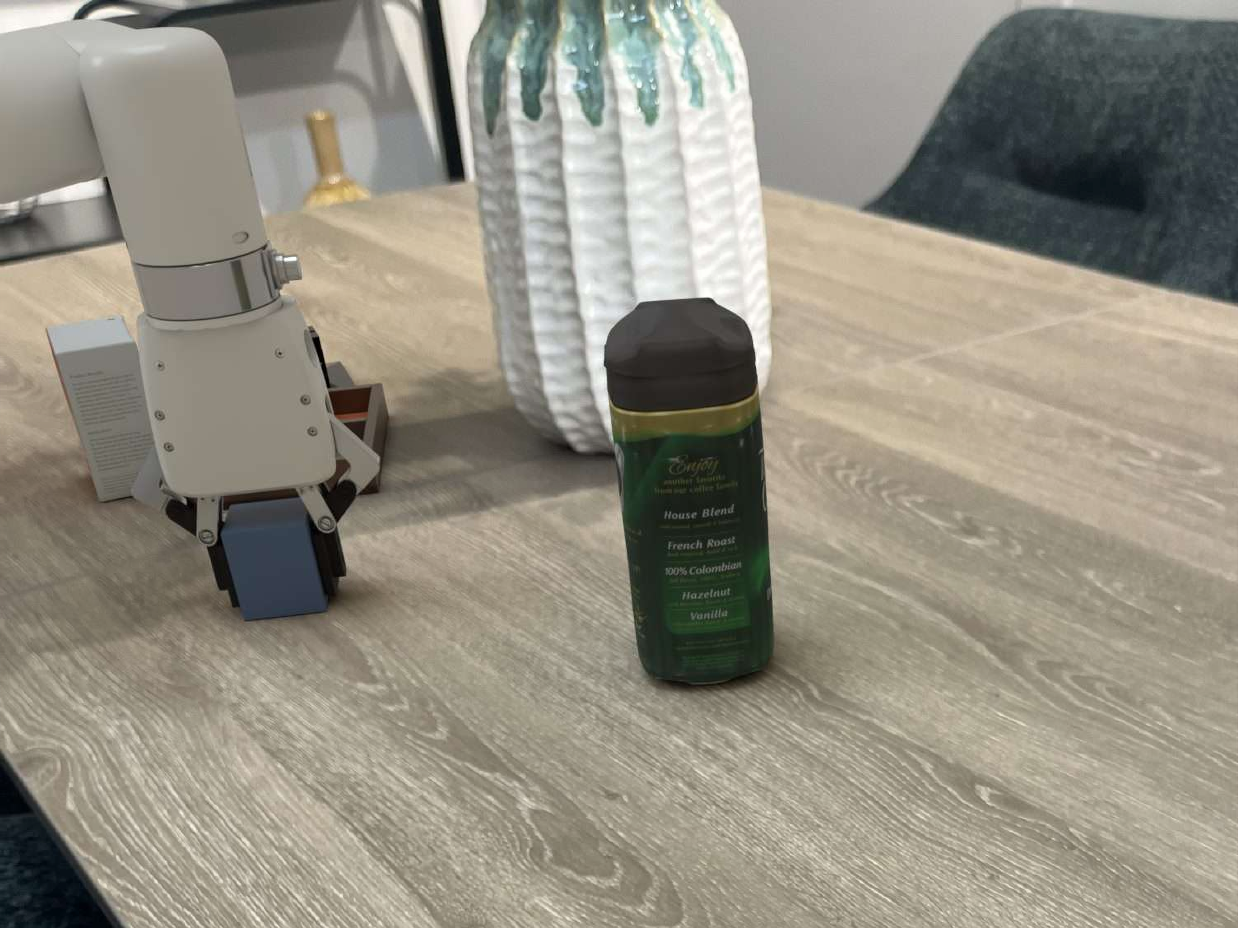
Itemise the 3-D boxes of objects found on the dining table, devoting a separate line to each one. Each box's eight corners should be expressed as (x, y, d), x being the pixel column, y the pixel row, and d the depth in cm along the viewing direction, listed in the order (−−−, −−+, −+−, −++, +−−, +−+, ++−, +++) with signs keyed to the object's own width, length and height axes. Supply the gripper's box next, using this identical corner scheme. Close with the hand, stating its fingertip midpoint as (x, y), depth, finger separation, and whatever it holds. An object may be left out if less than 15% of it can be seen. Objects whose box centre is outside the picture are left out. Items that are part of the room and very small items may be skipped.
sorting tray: (185, 513, 121) (175, 477, 120) (215, 434, 135) (206, 400, 134) (378, 492, 122) (371, 455, 121) (388, 416, 136) (382, 382, 135)
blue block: (244, 621, 105) (220, 534, 102) (252, 589, 109) (230, 504, 106) (326, 611, 106) (305, 524, 102) (331, 580, 110) (311, 495, 106)
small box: (88, 471, 130) (43, 325, 123) (163, 457, 131) (122, 312, 125) (99, 503, 124) (51, 352, 118) (177, 488, 126) (135, 338, 119)
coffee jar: (783, 683, 94) (759, 329, 83) (640, 696, 94) (595, 343, 82) (771, 612, 102) (747, 279, 90) (638, 624, 101) (597, 292, 90)
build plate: (366, 404, 139) (354, 345, 136) (276, 420, 137) (261, 361, 134) (340, 364, 148) (328, 308, 145) (255, 378, 147) (241, 322, 144)
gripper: (364, 254, 100) (424, 556, 111) (66, 284, 99) (157, 586, 110) (357, 286, 94) (421, 601, 105) (40, 318, 93) (139, 634, 104)
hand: (286, 590), depth 107 cm, fingers closed on blue block, 5 cm apart
